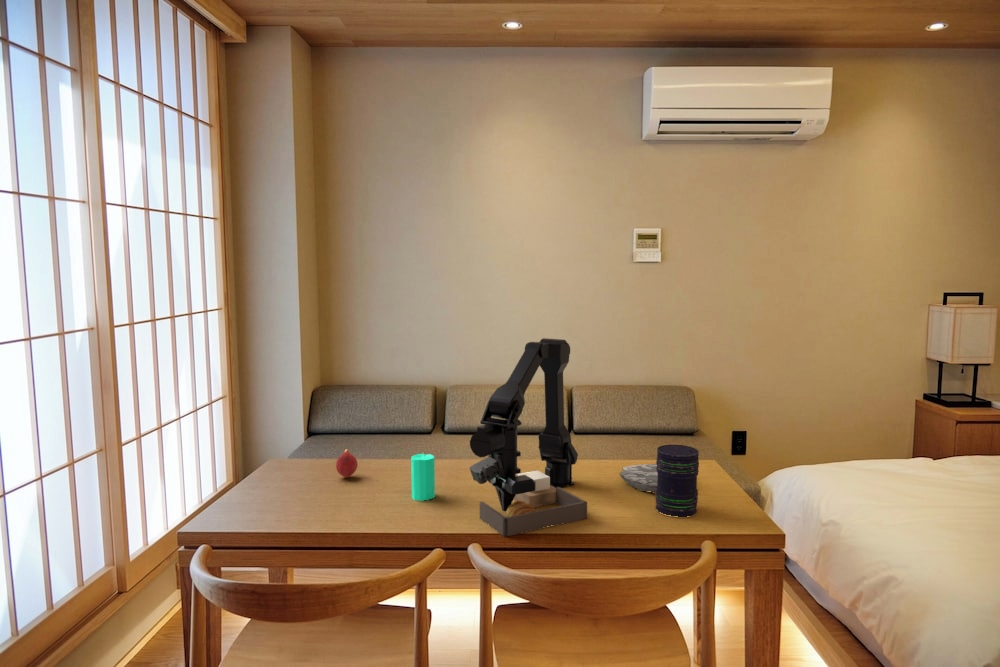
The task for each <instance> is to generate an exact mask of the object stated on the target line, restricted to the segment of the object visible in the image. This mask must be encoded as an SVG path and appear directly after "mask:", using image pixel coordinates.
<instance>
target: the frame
mask: <svg viewBox="0 0 1000 667" xmlns="http://www.w3.org/2000/svg"><path fill="white" fill-rule="evenodd" d="M555 504H556V505H558V506H554V507H550V508H545V509H544V508H543V509H541V510H536V511H534V512H530V513H525V514H520V515H515V516H510V517H507V516H505V515H503V514H502V513H501V512H499V511H497V510H496V509H494V508H493V507H492V506H490V505H489V504H487V503H486V502H484V501H479V520H481V519H482V520H483V521H482V520H481V521H482V522H484V521H485V522H486V523H487V524H486V523H485V522H484V523H485V524H486V525H488V524H489V525H490V526H492V527H493V528H494V529H495V530H494V529H493V528H492V527H491V528H492V529H493V530H494V531H496V530H497V531H498V532H497V531H496V532H497V533H499V534H500V535H501V536H503V537H504V538H506V537H509V536H511V537H512V536H515V535H519V533H520V534H522V533H521V532H525V533H527V532H526V531H529V532H531V531H530V530H534V531H536V530H535V529H538V530H540V529H539V528H542V529H544V528H543V527H547V526H551V525H556V526H558V525H557V524H560V525H563V524H562V523H565V524H568V523H567V522H569V523H573V522H572V521H574V522H578V521H581V520H582V519H583V520H588V501H586V500H584V499H582V498H581V497H578V496H577V495H575V494H573V493H571V492H569V491H567V490H565V489H563V487H556V503H555ZM489 525H488V526H489ZM490 526H489V527H490ZM551 527H552V526H551ZM547 528H548V527H547Z"/></svg>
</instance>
